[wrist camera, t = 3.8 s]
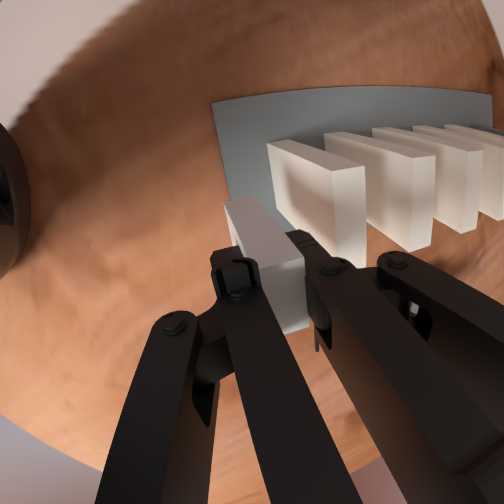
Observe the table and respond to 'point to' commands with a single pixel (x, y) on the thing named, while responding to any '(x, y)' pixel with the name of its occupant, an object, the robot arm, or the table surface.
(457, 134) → the tile
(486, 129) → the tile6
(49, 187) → the table surface
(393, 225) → the tile
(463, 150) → the tile
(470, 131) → the tile
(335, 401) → the table surface
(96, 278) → the table surface
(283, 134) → the mat
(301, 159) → the tile
